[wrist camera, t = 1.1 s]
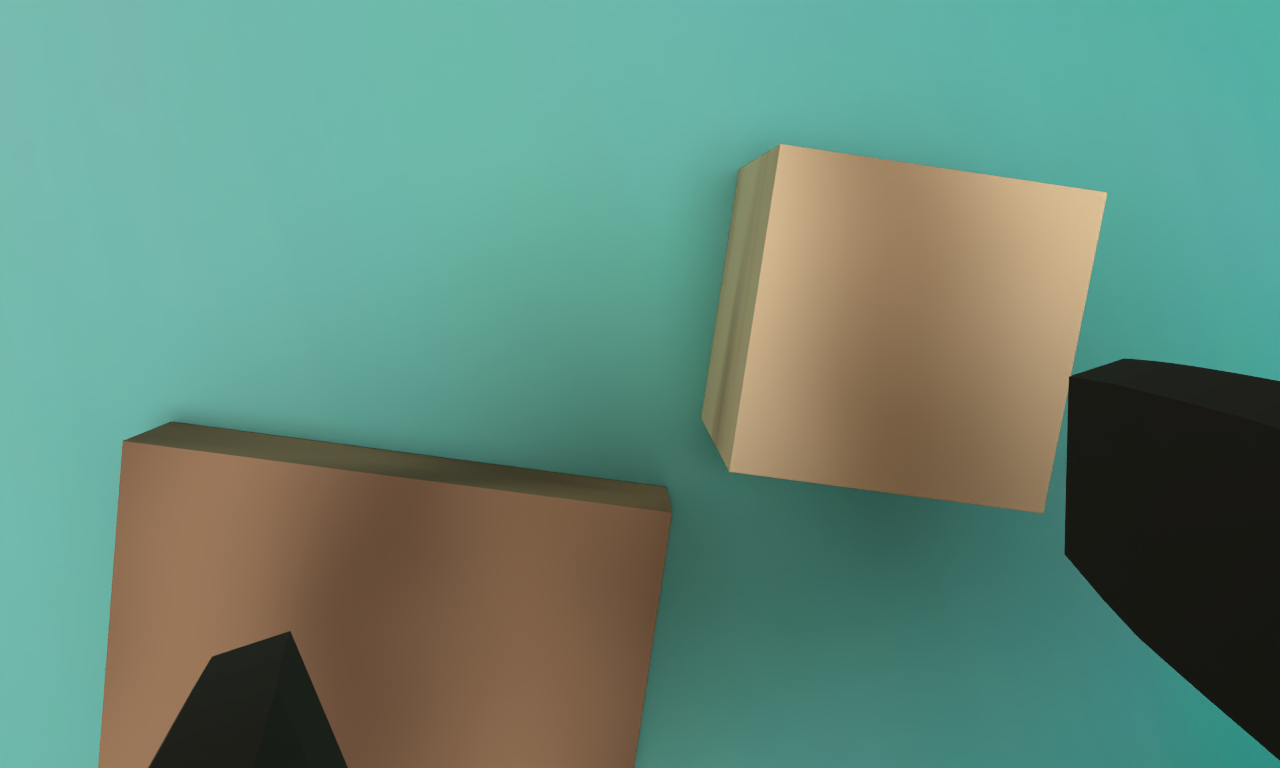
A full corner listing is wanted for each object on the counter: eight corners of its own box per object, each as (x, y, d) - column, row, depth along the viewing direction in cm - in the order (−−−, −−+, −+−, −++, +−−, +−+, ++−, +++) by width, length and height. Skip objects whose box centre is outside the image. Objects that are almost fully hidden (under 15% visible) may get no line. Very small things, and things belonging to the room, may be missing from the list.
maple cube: (984, 206, 20) (1107, 193, 15) (940, 449, 21) (1042, 513, 16) (738, 169, 20) (780, 144, 15) (700, 417, 20) (729, 472, 16)
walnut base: (666, 487, 20) (672, 512, 19) (600, 933, 22) (599, 1001, 20) (171, 421, 20) (123, 440, 18) (134, 881, 21) (85, 946, 19)
